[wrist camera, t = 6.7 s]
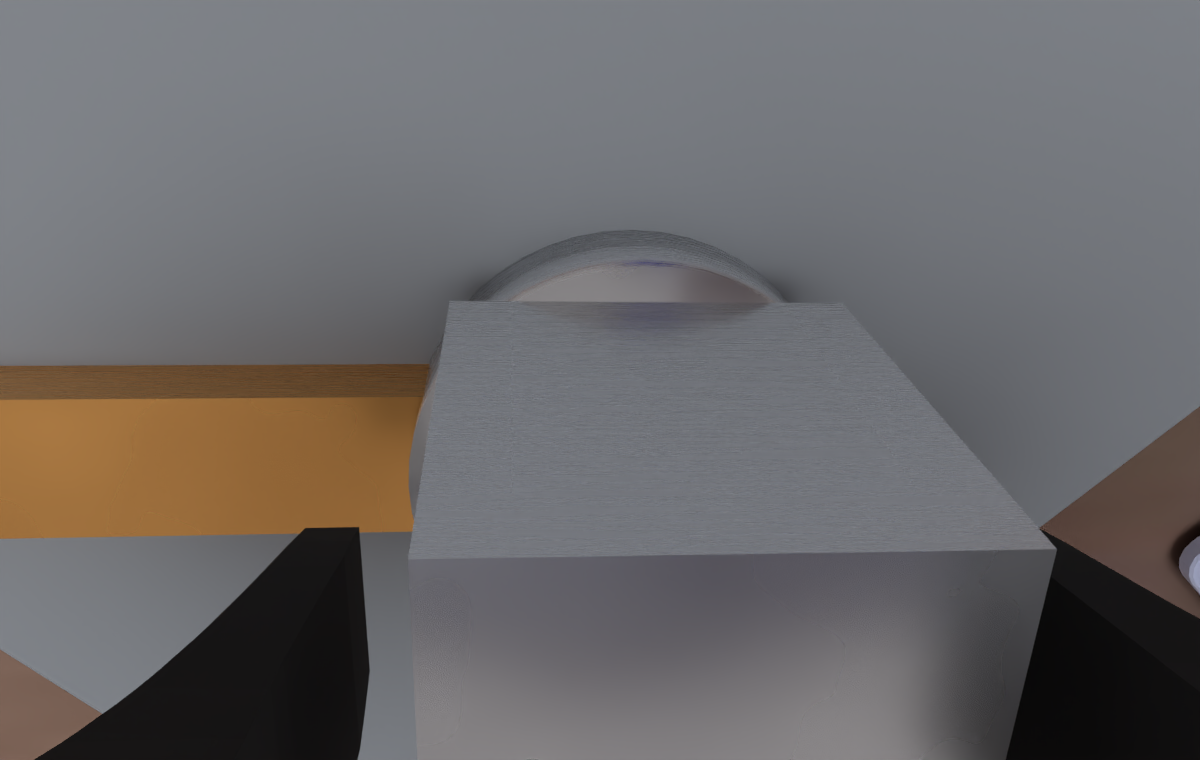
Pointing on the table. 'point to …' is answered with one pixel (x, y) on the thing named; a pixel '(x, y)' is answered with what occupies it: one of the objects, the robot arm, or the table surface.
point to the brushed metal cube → (707, 545)
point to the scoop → (287, 416)
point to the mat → (584, 225)
